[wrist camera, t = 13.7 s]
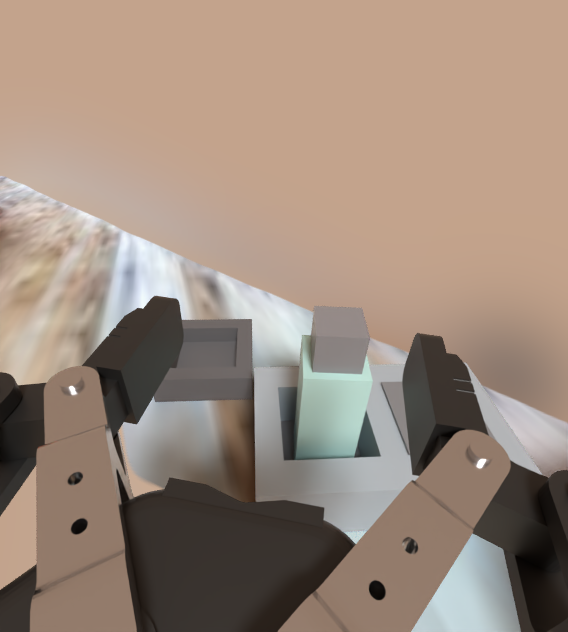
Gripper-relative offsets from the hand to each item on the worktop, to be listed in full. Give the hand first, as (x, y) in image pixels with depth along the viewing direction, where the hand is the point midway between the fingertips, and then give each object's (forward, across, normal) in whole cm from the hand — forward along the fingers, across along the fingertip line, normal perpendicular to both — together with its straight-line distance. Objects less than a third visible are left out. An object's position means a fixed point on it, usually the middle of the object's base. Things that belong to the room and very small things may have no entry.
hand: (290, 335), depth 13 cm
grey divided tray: (+10, -7, +21) cm, 25 cm away
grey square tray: (+18, +11, +22) cm, 30 cm away
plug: (+9, -2, +20) cm, 22 cm away
